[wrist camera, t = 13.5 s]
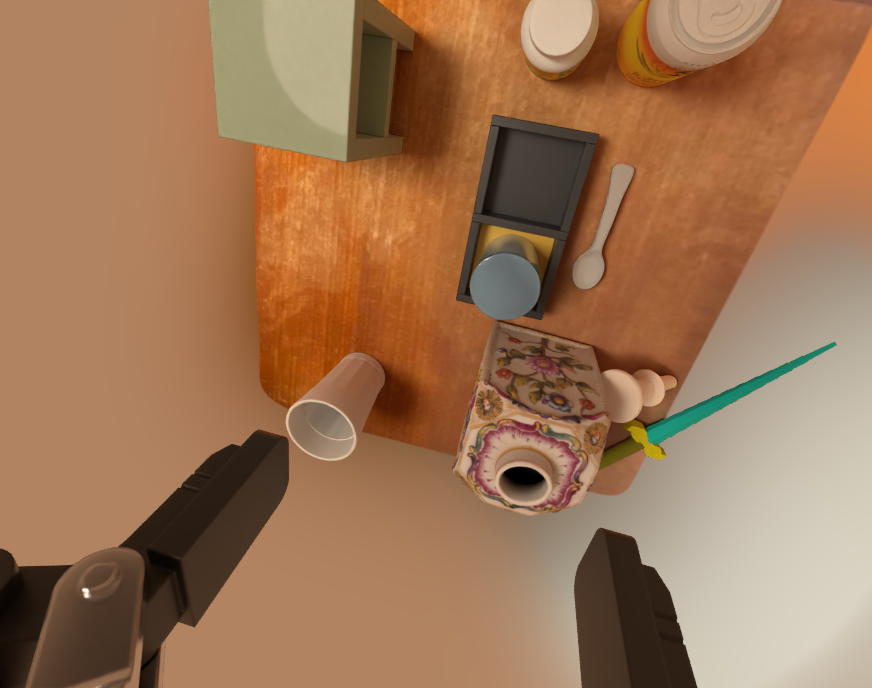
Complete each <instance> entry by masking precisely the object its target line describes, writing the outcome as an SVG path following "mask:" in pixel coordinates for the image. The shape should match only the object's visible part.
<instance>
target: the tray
mask: <svg viewBox="0 0 872 688" xmlns="http://www.w3.org/2000/svg"><path fill="white" fill-rule="evenodd" d="M598 138H599V134H596V133H590V132H585V131H580V130H574V129H569V128H563V127H558V126H552V125H547V124H541V123H536V122H530V121H525V120H519V119H514V118H508V117H503V116H497V115H493V116H492V121H491V126H490V131H489V137H488V142H487V147H486V152H485V157H484V162H483V167H482V172H481V177H480V182H479V187H478V192H477V197H476V202H475V207H474V213H473V217H472V222H471V227H470V232H469V237H468V242H467V247H466V252H465V257H464V262H463V267H462V272H461V277H460V282H459V287H458V293H457V297H456V300H457V301H462V302H466V303H470V304H474V305H475V303H474V301H473V299H472V297H471V293H470V280H471V277H472V274H473V272H474V270H475V268H476V266H477V264H478V262H479V260H480V258H481V255H482V253H483V251H484V249H485V247H486V246H487V245H488V243H490V242H491V241H492V240H493V239H495V238H496V237H499V236H501V235H505V234H516V235H520V236H522V237H525V238H526V239H528V240H529V241H530V242H531V243H532V244H533V245H534V246H535V248H536V250H537V252H538V255H539V268H540V294H539V297H538V300H537V302H536V304H535V305H534V306H533V308H532V309H531V310H530V311H529V312H527V313H526V314H525V315H523V316H526V317H530V318H534V319H538V320H542V317H543V314H544V311H545V308H546V305H547V301H548V298H549V295H550V292H551V288H552V285H553V282H554V279H555V276H556V272H557V269H558V266H559V263H560V260H561V256H562V253H563V250H564V247H565V244H566V240H567V237H568V234H569V233H568V232H569V231H570V228H571V224H572V221H573V218H574V215H575V212H576V208H577V205H578V202H579V199H580V196H581V192H582V189H583V186H584V183H585V180H586V176H587V173H588V170H589V167H590V164H591V160H592V157H593V154H594V151H595V148H596V144H597V141H598Z"/></svg>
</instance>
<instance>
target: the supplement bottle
mask: <svg viewBox="0 0 872 688" xmlns="http://www.w3.org/2000/svg"><path fill="white" fill-rule="evenodd" d="M598 25H599V11H598V6H597V2H596V0H531V1H530V3H529V5H528V6H527V8H526V11H525V13H524V16H523V20H522V25H521V43H522V47H523V52H524V56H525V60H526V63H527V65H528V67H529V68H530V70H531V71H532V72H533V73H534V74H535V75H536V76H538V77H540V78H542V79H545V80H557V79H561V78H564V77H566V76H568V75H570V74H571V73H572V72H573V71H575V70H576V68H577V67H578V66H579V65H580V64H581V62H582V61H583V59H584V58H585V56H586V55H587V54H588V52H589V51H590V49H591V47H592V45H593V43H594V41H595V38H596V35H597V31H598Z"/></svg>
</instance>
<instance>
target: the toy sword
mask: <svg viewBox="0 0 872 688" xmlns="http://www.w3.org/2000/svg"><path fill="white" fill-rule="evenodd" d="M834 346H836V343H835V342H833V343H831V344H829V345H827V346H824V347H822V348H820V349H818V350H816V351H814V352H811V353H809V354H807V355H805V356H801V357H800V358H797V359H795V360H793V361H791V362H789V363H786V364H784V365H782V366H780V367H778V368H776V369H774V370H770V371H768V372H767V373H765V374H763V375H761V376H758V377H755V378H753V379H751V380H749V381H748V382H745V383H742V384H740V385H738V386H736V387H734V388H732V389H730V390H727V391H725V392H723V393H721V394H719V395H716V396H714V397H712V398H710V399H708V400H706V401H703V402H701V403H698V404H697V405H695V406H693V407H690V408H688V409H685V410H683V411H682V412H680V413H677V414H674V415H672V416H671V417H669V418H666V419H664V420H661V421H659V422H658V423H655V424H653V425H650V426H648V427H647V428H644V426H643V424H642V423H641V422H639V421H636V420H631V421H628V422H624V423H622V424H623V426H624V429H625V430H627V431H630V434H631V436H632V437H631V438H629V439H627V440H626V441H624V442H622V443H620V444H618V445H616V446H614V447H612V448H610V449H608V450H606V451H604V452H603V454H602V459H601V462H600V466H599V469H598V470H600V469H602V468H604V467H606V466H609V465H611V464H613V463H615V462H617V461H619V460H621V459H623V458H625V457H627V456H629V455H631V454H633V453H635V452H637V451H639V450H641V449H643V450H644V452H645V453H646V454H647V455H648V456H649V457H652V458H655V459H658V460H660V459H662V458H664V457H666V454H665V452H664V450H663V448H661V447H660V446H659V444H658V443H661V442H662V441H664V440H666V439H667V438H669V437H672V436H673V435H675V434H677V433H678V432H680V431H682V430H684V429H686V428H687V427H689V426H691V425H693V424H695V423H697V422H699V421H700V420H702V419H703V418H706V417H708V416H710V415H711V414H713V413H714V412H716V411H718V410H721V409H722V408H724V407H726V406H727V405H729V404H731V403H733V402H735V401H737V400H738V399H740V398H742V397H744V396H746V395H748V394H750V393H751V392H752V391H754V390H756V389H758V388H760V387H762V386H764V385H765V384H767V383H769V382H771V381H773V380H775V379H777V378H778V377H780V376H782V375H783V374H786V373H787V372H790V371H792V370H793V369H794V368H796V367H798V366H800V365H802V364H804V363H806V362H807V361H809V360H810V359H812V358H814V357H816V356H817V355H819V354H821V353H823V352H825V351H827V350H828V349H830V348H832V347H834Z"/></svg>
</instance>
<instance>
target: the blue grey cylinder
mask: <svg viewBox="0 0 872 688" xmlns="http://www.w3.org/2000/svg"><path fill="white" fill-rule="evenodd" d="M470 293H471V297H472V299H473V301H474V303H475V305H476V306H477V307H478V309H479V310H480V311H482V312H483V313H484V314H486V315H487V316H489V317H492V318H495V319H499V320H511V319H516V318H519V317H521V316H523V315H525V314H526V313H527V312H529V311H530V310H531V309H532V308H533V306H534V305H535V304H536V302H537V300H538V297H539V294H540V268H539V255H538V252H537V250H536V248H535V246H534V245H533V244H532V243H531V242H530V241H529V240H528V239H526V238H525V237H522V236H520V235H516V234H505V235H501V236H499V237H496V238H495V239H493V240H492V241H491V242H490V243H488V245H487V246H486V247H485V249H484V251H483V253H482V255H481V258H480V260H479V262H478V264H477V266H476V268H475V270H474V272H473V274H472V277H471V280H470Z"/></svg>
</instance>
